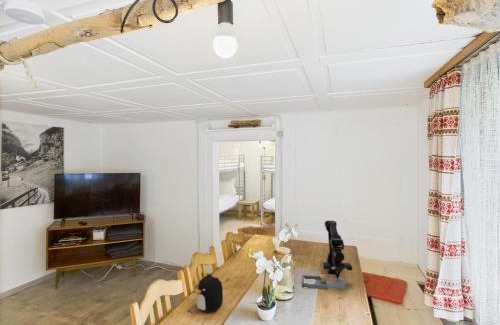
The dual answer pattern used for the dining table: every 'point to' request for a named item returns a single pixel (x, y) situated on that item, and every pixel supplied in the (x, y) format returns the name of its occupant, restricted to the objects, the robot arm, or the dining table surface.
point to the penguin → (209, 293)
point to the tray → (318, 283)
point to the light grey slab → (336, 283)
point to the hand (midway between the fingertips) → (337, 278)
